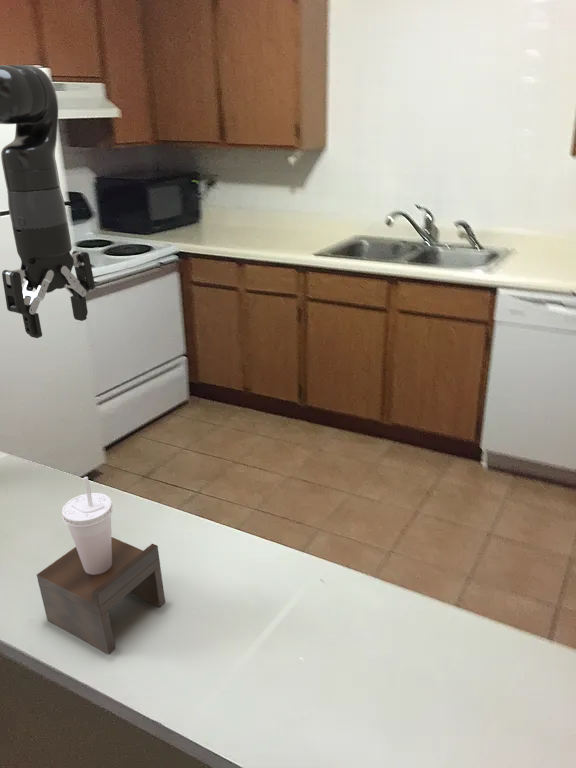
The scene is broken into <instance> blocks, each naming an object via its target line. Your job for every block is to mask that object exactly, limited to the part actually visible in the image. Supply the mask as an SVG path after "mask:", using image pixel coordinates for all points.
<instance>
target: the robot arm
mask: <svg viewBox="0 0 576 768" xmlns="http://www.w3.org/2000/svg"><path fill="white" fill-rule="evenodd" d="M58 100H59V99H58V95H57V91H56V88H55V86H54V84H53V82H52V80H51V78H50V77H49V76H48V74H47V73H46V72H45V71H43V70H42V69H41V68H39V67H37V66H34V65H29V64H27V65H26V64H25V65H24V64H21V65H20V64H19V65H18V64H16V65H15V64H13V65H12V64H0V125H15V133H14V135H15V136H14V139H13V140H12V141H11V142H9V144H8V143H7V144H6V145H5V146H4V147H2V149H1V152H0V159H1V166H2V171H3V177H4V182H5V186H6V187H5V188H6V189H7V190H6V191H7V205H8V206H7V207H8V212H9V217H10V221H11V227H12V232H13V239H14V243H15V246H16V253H17V255H18V256H19V258H20V261H21V264H20V268H19V269H13V270H10V269H4V270H3V271H2V272H1V278H2V283H3V291H4V297H5V303H6V304H5V305H6V310H7V311H8V312H11V313H16V314H20V315H21V316H22V321H23V325H24V329H25V333H26V334H27V335H28V336H29V337H31V338H35V339H39V338H42V337H43V332H42V331H43V330H42V325H41V321H40V316H39V313H38V312H37V311H38V309H39V305H40V303H41V301H43V300H44V299H45V296H46V294H49V293H52V292H54V291H55V290H61V289H64V288H65V290H66V291H68V293H70V295H71V296H70V302H71V308H72V315H73V318H74V320H76V321H80V322H83V321H86V320H87V319H88V317H87V316H88V304H87V299H86V296H87V294H88V292H90V291H93V290H94V289H95V287H96V285H95V279H94V274H93V268H92V264H91V258H90V255H89V253H88V252H86V251H80V250H73V251H72V248H73V247H72V239H71V234H70V228H69V221H68V215H67V209H66V203H65V199H64V195H63V193H62V189H61V186H60V185H61V183H60V177H59V172H58V165H57V160H56V148H57V139H58V125H59V124H58V123H59V101H58ZM71 251H72V253H71ZM73 267H74V270H75V275H74V274H73V273H72V270H73ZM24 280H25V281H24ZM23 284H24V285H23ZM33 290H35V291H33Z"/></svg>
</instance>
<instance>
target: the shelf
mask: <svg viewBox="0 0 576 768" xmlns="http://www.w3.org/2000/svg"><path fill="white" fill-rule="evenodd" d="M111 541H112V565H111V567H110V568H109V569H108V570H107V571H105V572H103V573H101V574H96V575H92V574H88V573H86V572H85V570H84V568H83V565H82V562H81V560H80V557H79V554H78V551H77V549H76V546H74V547H73V548H71V549H70V550H69V551H67V552H66V553H65V554H63V555H62V556H60V557H59V558H57V559H56V560H55V561H54V562H52V563H50V564H49V565H48V566H47V567H45V568H43V569H42V570H41V571H40V572H38V573H36V578H37V582H38V587H39V591H40V595H41V596H40V597H41V599H42V604H43V609H44V612H45V617H46V620H47V621H48V622H50V623H52V624H54V625H55V626H57V627H59V628H61V629H63V630H64V631H66V632H68V633H70V634H71V635H73V636H75V637H77V638H79V639H80V640H82V641H84V642H86V643H88V644H90V645H91V646H93V647H94V648H97V649H99V650H100V651H102V652H103V653H106V654H107V655H110V654H111V653H112V652H113V651H114V650H115V649H116V645H115V639H114V635H113V628H112V623H111V618H110V612H109V610H110V609H112V608H113V607H114V606H115V605H116V604H117V603H119V602H120V601H121V600H122V599H123V598H125V597H126V596H127V595H128V594H132V595H134V596H136V597H138V598H140V599H141V600H143V601H146V602H149V603H150V604H152V605H154V606H156V607H158V608H161V607H162V606H163V605H164V604H165V603H166V596H165V588H164V583H163V576H162V569H161V560H160V559H161V558H160V553H159V546H158V545H157V544H154V543H151V544H150V545H148V546H147V547H146V548H145V549H141V548H138V547H136V546H133V545H131V544H129V543H127V542H124V541H122V540H121V539H118V538H116V537H113V536H111Z"/></svg>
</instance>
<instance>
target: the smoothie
mask: <svg viewBox="0 0 576 768" xmlns="http://www.w3.org/2000/svg"><path fill="white" fill-rule="evenodd" d="M83 483H84V488H85V489H84V490H85V493H83V494H79V495H77V496H74V497H73V498H71V499H70V500H67V502H66V503H65V504H64V505H63V506H62V509H61V514H62V520H63V522H64V523H65V524H66V525H67V527H68V530H69V532H70V536H71V539H72V540H73V543H74V547H76V549H77V551H78V554H79V557H80V560H81V562H82V565H83V568H84V570H85V572H86V573H88V574H92V575H96V574H101V573H103V572H105V571H107V570H108V569H109V568H110V567H111V565H112V541H111V537H112V513H113V512H114V505H113V502H112V501H113V500H112V499H111V497H110V496H109V495H107V494H104V493H102V492H101V493H100V492H91V487H90V482H89V477H88V476H84V477H83Z"/></svg>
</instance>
